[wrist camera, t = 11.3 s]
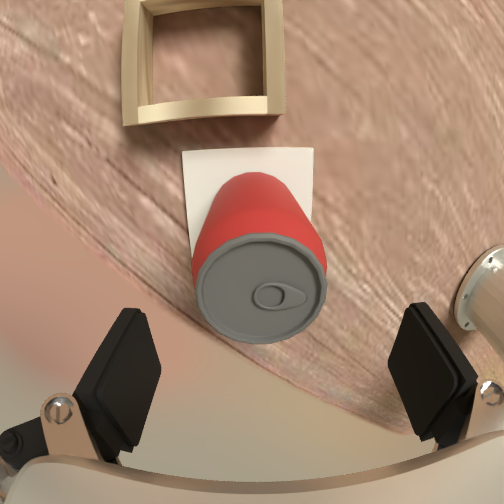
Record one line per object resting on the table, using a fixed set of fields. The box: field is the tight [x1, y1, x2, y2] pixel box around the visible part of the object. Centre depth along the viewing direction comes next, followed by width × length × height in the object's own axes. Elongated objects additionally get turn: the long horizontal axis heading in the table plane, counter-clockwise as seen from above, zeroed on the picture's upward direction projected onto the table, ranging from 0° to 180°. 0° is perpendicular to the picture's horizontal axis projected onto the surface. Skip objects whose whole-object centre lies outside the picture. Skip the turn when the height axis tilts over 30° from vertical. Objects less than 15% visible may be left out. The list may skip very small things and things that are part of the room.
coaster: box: [182, 147, 313, 257], centre depth 23 cm, size 10×10×1 cm
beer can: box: [191, 172, 327, 344], centre depth 17 cm, size 7×7×12 cm
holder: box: [121, 0, 286, 126], centre depth 16 cm, size 11×11×4 cm
